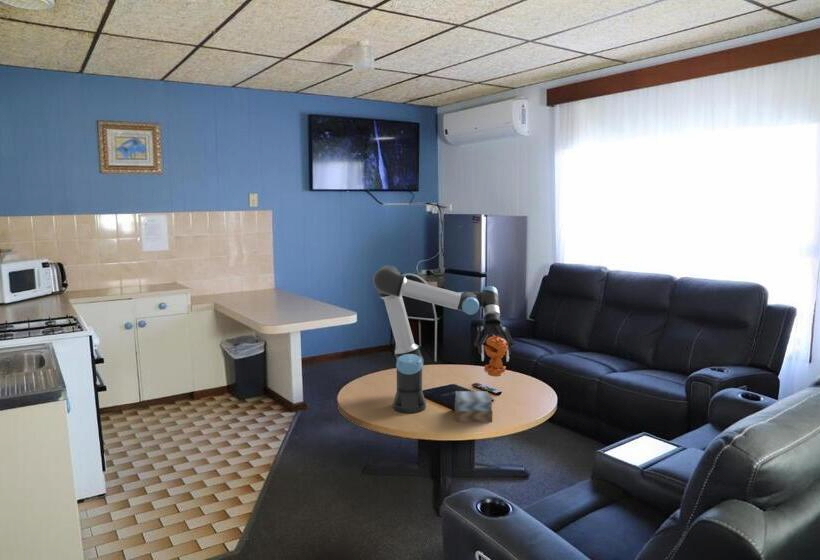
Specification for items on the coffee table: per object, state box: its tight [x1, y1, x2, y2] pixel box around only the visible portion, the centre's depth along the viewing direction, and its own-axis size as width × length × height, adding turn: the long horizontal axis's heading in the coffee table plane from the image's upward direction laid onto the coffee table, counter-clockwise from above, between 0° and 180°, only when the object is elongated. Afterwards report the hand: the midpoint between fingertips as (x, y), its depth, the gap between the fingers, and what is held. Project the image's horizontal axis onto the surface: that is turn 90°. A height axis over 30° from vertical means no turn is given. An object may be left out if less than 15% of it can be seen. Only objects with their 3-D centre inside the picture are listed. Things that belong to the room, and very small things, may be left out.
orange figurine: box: [483, 335, 508, 378], centre depth 258 cm, size 11×11×18 cm
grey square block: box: [454, 390, 493, 423], centre depth 259 cm, size 15×15×8 cm
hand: (495, 359), depth 255 cm, fingers closed on orange figurine, 10 cm apart
